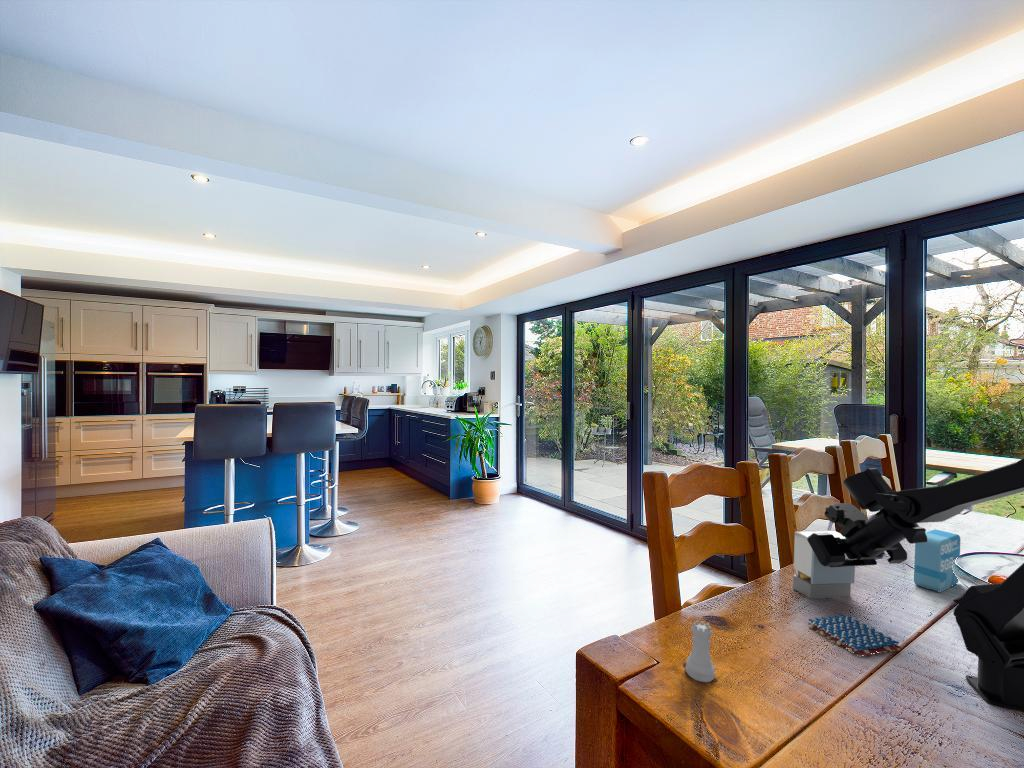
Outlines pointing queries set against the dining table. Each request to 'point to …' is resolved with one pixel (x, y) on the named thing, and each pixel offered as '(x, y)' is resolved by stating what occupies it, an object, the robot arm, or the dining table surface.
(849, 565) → the robot arm
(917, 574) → the blue carton
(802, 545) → the box
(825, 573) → the box door
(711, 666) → the rook chess piece
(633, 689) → the dining table surface
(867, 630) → the woven mat
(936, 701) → the dining table surface
